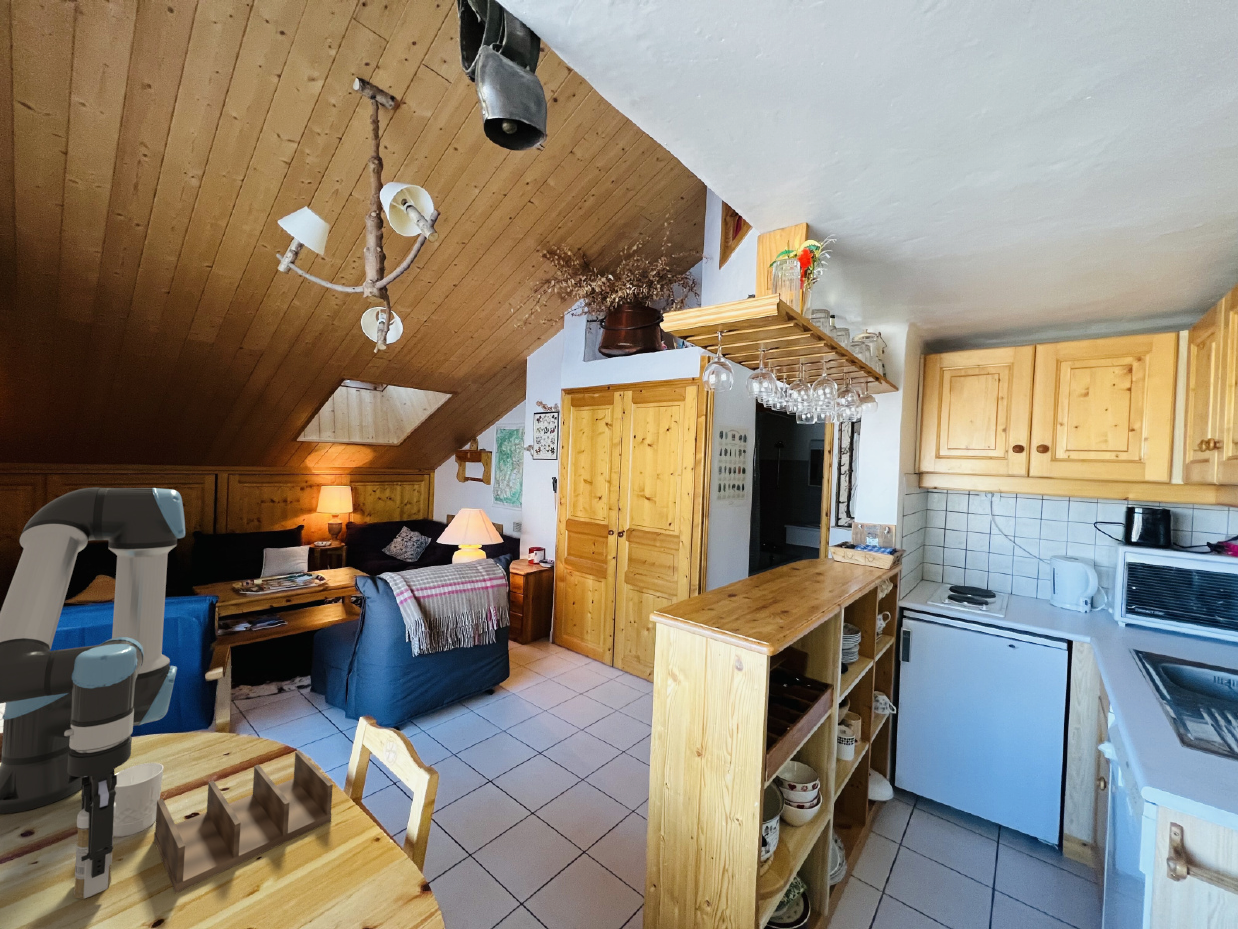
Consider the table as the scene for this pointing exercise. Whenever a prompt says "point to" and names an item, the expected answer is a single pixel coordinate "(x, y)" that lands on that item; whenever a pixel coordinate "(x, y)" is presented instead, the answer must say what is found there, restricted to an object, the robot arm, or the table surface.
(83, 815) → the sprinkles bottle
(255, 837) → the slot rack
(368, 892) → the table surface
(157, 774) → the white cup
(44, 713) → the robot arm
